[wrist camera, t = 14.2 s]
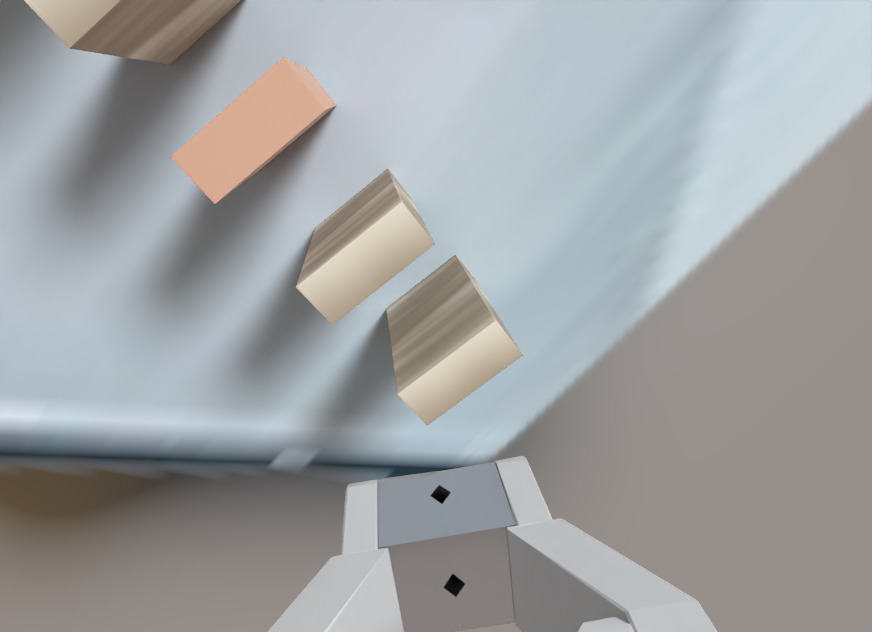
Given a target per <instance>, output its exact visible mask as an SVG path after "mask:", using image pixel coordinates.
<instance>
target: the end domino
mask: <svg viewBox="0 0 872 632" xmlns="http://www.w3.org/2000/svg"><path fill="white" fill-rule="evenodd" d="M386 310H387V318H388V326H389V333H390V341H391V349H392V356H393V364H394V372H395V379H396V387H397V394H398V395H399V396H400V397H401V398H402V400H403V401H404V402H405V403H406V404H407V405H408V406H409V407H410V408H411V409H412V410H413V411H414V412H415V413H416V414H417V415H418V416H419V417H420V419H421V420H422V421H423V422H424V423H425V424H426V425H429V424H430V423H431V422H433V421H434V420H435V419H437V418H438V417H440V416H441V415H442V414H444V413H445V412H446V411H448V410H449V409H450V408H452V407H453V406H454V405H456V404H457V403H459V402H460V401H461V400H463V399H464V398H465V397H467V396H468V395H469V394H471V393H472V392H474V391H475V390H476V389H478V388H479V387H480V386H482V385H483V384H484V383H486V382H487V381H489V380H490V379H491V378H493V377H494V376H495V375H497V374H498V373H499V372H501V371H502V370H504V369H505V368H506V367H508V366H509V365H510V364H512V363H513V362H514V361H516V360H517V359H518V358H520V357H521V356H523V355H522V353H521V351H520V350H519V348H518V347H517V345H516V343H515V342H514V340H513V339H512V337H511V336H510V334H509V332H508V331H507V329H506V328H505V326H504V324H503V323H502V321H501V320H500V318H499V317H498V315H497V313H496V312H495V310H494V309H493V307H492V306H491V304H490V302H489V301H488V299H487V298H486V296H485V294H484V293H483V291H482V290H481V288H480V287H479V285H478V283H477V282H476V280H475V279H474V278H473V277H472V275H471V274H470V273H469V271H468V270H467V269H466V268H465V266H464V265H463V264H462V263H461V261H460V260H459V259H458V257H457V256H456V255H455V256H453V257H452V258H451V259H449V260H448V261H447V262H446V263H444V264H443V265H442V266H440V267H439V268H438V269H437V270H435V271H434V272H433V273H431V274H430V275H429V276H428V277H426V278H425V279H424V280H422V281H421V282H420V283H419V284H417V285H416V286H415V287H413V288H412V289H411V290H410V291H408V292H407V293H406V294H404V295H403V296H402V297H401V298H399V299H398V300H397V301H395V302H394V303H393V304H392V305H390V306H389V307H388V308H386Z"/></svg>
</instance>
